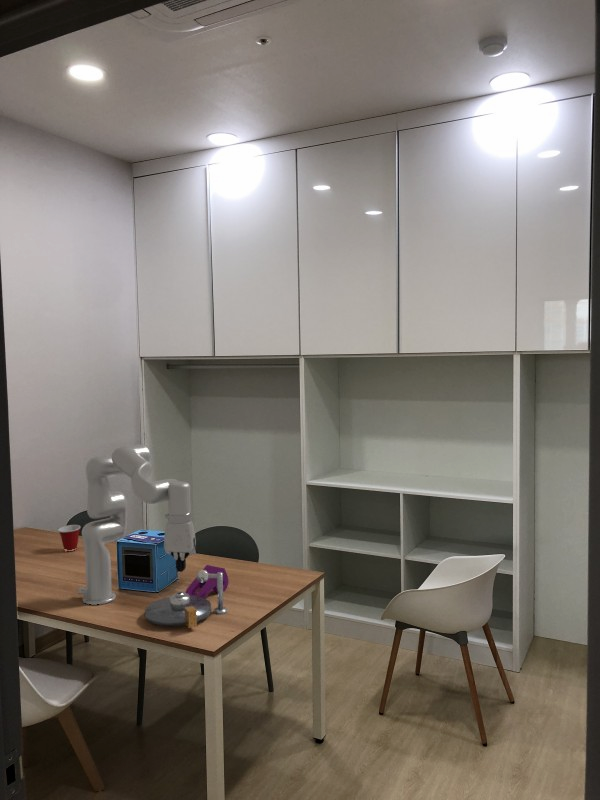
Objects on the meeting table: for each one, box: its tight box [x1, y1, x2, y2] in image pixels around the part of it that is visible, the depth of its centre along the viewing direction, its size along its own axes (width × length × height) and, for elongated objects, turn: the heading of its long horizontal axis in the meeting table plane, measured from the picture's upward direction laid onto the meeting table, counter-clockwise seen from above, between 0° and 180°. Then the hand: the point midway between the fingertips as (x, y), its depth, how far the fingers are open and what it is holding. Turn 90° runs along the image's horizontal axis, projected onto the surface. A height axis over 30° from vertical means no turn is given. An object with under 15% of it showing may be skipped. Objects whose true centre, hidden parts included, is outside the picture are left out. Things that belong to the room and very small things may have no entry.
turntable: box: [144, 596, 212, 629], centre depth 236 cm, size 24×28×6 cm
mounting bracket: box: [185, 564, 229, 599], centre depth 261 cm, size 9×8×18 cm
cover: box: [169, 591, 190, 611], centre depth 238 cm, size 7×7×5 cm
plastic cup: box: [57, 524, 81, 550], centre depth 324 cm, size 11×11×12 cm
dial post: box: [195, 569, 228, 615], centre depth 242 cm, size 11×5×16 cm, turn 79°
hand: (180, 570), depth 222 cm, fingers closed
